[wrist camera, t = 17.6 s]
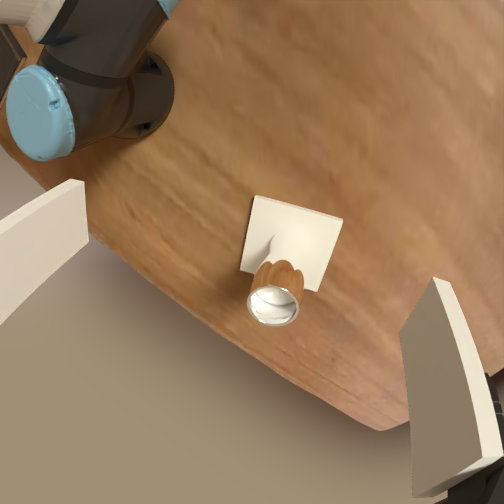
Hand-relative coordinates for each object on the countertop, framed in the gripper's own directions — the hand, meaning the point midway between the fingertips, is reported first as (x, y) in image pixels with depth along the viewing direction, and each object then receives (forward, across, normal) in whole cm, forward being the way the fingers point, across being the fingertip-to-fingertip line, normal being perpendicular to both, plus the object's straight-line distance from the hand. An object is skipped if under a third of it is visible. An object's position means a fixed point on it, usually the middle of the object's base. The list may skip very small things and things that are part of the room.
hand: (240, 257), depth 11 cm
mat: (+37, +2, -20) cm, 42 cm away
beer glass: (+36, +2, -20) cm, 41 cm away
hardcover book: (+38, -72, +10) cm, 82 cm away
